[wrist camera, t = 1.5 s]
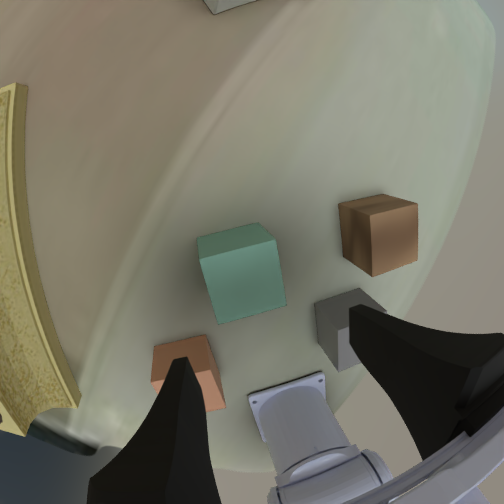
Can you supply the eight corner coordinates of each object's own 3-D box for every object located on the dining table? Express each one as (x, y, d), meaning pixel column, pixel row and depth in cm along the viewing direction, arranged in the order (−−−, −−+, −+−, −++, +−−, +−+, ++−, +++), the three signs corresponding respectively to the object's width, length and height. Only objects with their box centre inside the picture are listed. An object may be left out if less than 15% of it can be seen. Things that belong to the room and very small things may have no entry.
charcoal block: (359, 326, 26) (383, 352, 22) (317, 342, 26) (338, 372, 22) (359, 287, 25) (387, 311, 21) (314, 302, 24) (337, 330, 20)
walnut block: (384, 243, 24) (417, 260, 20) (342, 256, 23) (372, 277, 19) (382, 193, 22) (417, 203, 18) (337, 203, 22) (369, 215, 17)
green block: (268, 277, 22) (286, 305, 18) (211, 292, 22) (218, 324, 18) (257, 222, 21) (275, 239, 17) (196, 237, 20) (198, 259, 16)
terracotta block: (219, 371, 24) (226, 407, 20) (172, 382, 24) (172, 418, 20) (205, 333, 23) (210, 369, 19) (154, 345, 22) (150, 382, 18)
